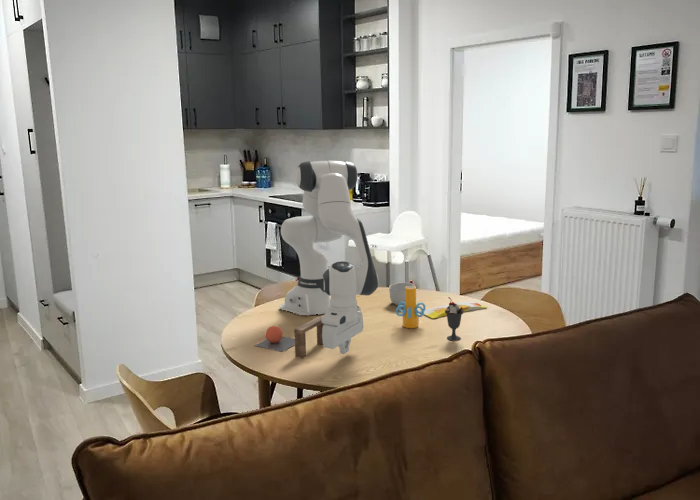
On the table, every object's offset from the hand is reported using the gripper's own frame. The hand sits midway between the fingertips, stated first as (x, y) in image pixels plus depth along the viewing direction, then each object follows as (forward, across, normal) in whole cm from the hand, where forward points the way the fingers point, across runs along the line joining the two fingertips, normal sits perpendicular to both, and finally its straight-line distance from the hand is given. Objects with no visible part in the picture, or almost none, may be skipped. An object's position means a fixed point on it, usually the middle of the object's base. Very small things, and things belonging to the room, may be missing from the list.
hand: (344, 352), depth 204 cm
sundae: (+2, -33, +25) cm, 41 cm away
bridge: (+2, 0, -13) cm, 13 cm away
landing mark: (+2, 0, -27) cm, 27 cm away
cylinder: (+2, -38, +6) cm, 39 cm away
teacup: (+2, -63, -10) cm, 64 cm away
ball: (-1, 0, -29) cm, 29 cm away
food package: (+3, -63, +13) cm, 64 cm away
